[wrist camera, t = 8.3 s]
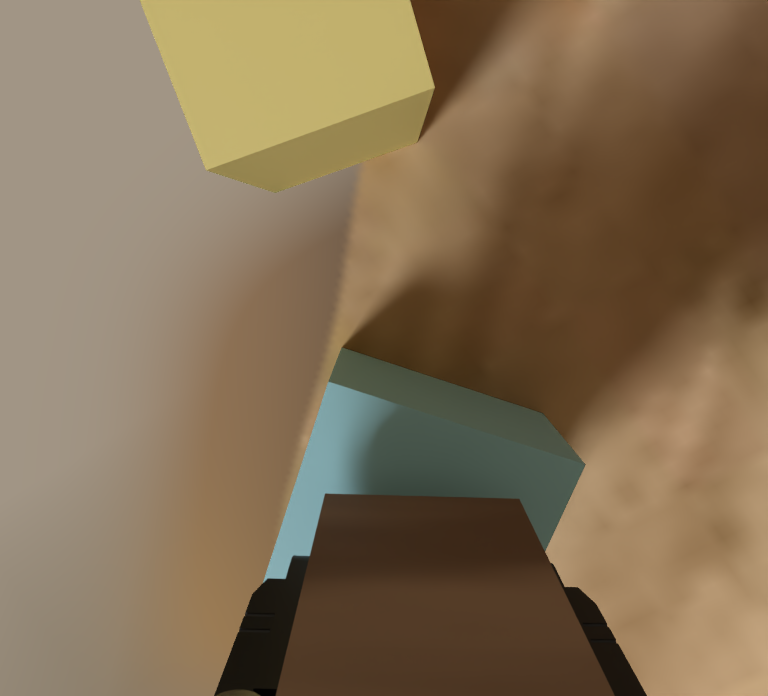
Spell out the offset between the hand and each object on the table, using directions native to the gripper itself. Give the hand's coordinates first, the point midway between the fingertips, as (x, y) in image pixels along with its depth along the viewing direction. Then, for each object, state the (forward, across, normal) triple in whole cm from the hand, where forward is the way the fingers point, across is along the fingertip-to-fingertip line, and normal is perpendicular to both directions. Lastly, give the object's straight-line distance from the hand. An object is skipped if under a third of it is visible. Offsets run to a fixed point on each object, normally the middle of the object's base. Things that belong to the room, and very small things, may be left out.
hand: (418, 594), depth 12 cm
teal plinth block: (+6, 0, 0) cm, 6 cm away
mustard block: (+6, +3, -12) cm, 14 cm away
